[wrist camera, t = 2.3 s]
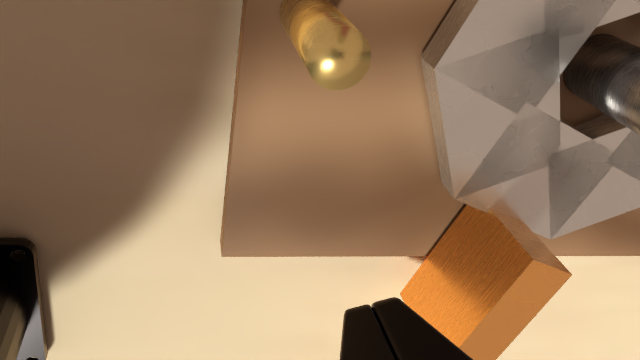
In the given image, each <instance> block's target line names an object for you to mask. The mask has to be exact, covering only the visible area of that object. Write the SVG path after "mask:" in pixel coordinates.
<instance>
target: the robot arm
mask: <svg viewBox="0 0 640 360" xmlns="http://www.w3.org/2000/svg"><path fill="white" fill-rule="evenodd" d="M14 250H21V251H23V252H24V253H25V254H17V253H16V252H14ZM47 354H48V352H47V343H46V334H45V325H44V316H43V307H42V298H41V290H40V281H39V272H38V263H37V254H36V248H35V245H34V244H33V243H32V242H31V241H29V240H27V239H24V238H0V360H46V358H47ZM31 357H36V358H31ZM340 360H473V359H472V358H471V357H469V356H468V355H467V354H466V353H465V352H463V351H462V350H461V349H460V348H458V347H457V346H456V345H455V344H454V343H452V342H451V341H450V340H449V339H448V338H446V337H445V336H444V335H443V334H441V333H440V332H439V331H438V330H437V329H435V328H434V327H433V326H432V325H430V324H429V323H428V322H427V321H426V320H424V319H423V318H422V317H421V316H420V315H418V314H417V313H416V312H415V311H413V310H412V309H411V308H410V307H409V306H407V305H406V304H405V303H404V302H402V301H401V300H400V299H398V298H395V297H394V298H389V299H385V300H382V301H378V302H375V303H373V304H372V307H371V306H370V305H363V306H359V307H355V308H351V309H348V310H346V311H345V313H344V321H343V331H342V341H341V352H340Z"/></svg>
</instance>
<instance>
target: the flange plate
mask: <svg viewBox="0 0 640 360" xmlns="http://www.w3.org/2000/svg"><path fill="white" fill-rule="evenodd" d="M636 13H638V14H639V15H640V0H456V2H455V3H454V5H453V6H452V8H451V10H450V11H449V13H448V14H447V16H446V17H445V19H444V21H443V22H442V24H441V25H440V27H439V29H438V30H437V32H436V33H435V35H434V36H433V38H432V40H431V41H430V43H429V44H428V46H427V48H426V49H425V51H424V52H423V54H422V56H421V62H422V68H423V74H424V80H425V86H426V92H427V98H428V104H429V110H430V116H431V122H432V128H433V134H434V140H435V146H436V152H437V158H438V164H439V170H440V176H441V182H442V184H443V185H444V187H445V188H446V189H447V190H448V192H449V193H450V194H451V196H452V197H453V198H454V199H455V200H457V201H460V202H462V203H465V204H467V205H466V206H465V208H464V209H463V210H462V212H461V213H460V214H459V216H458V217H457V218H456V220H455V221H454V222H453V224H452V225H451V226H450V228H449V229H448V230H447V232H446V233H445V234H444V236H443V237H442V238H441V240H440V241H439V242H438V244H437V245H436V246H435V248H434V249H433V250H432V252H431V253H430V254H429V256H428V257H427V258H426V260H425V261H424V262H423V264H422V265H421V266H420V268H419V269H418V270H417V272H416V273H415V274H414V276H413V277H412V278H411V280H410V281H409V282H408V284H407V285H406V286H405V288H404V289H403V290H402V292H401V293H400V294H401V297H402V299H403V301H404V303H405V304H406V305H407V306H409V307H410V308H411V309H412V310H413V311H415V312H416V313H417V314H418V315H420V316H421V317H422V318H423V319H424V320H426V321H427V322H428V323H429V324H430V325H432V326H433V327H434V328H435V329H437V330H438V331H439V332H440V333H441V334H443V335H444V336H445V337H446V338H448V339H449V340H450V341H451V342H452V343H454V344H455V345H456V346H457V347H458V348H460V349H461V350H462V351H463V352H465V353H466V354H467V355H468V356H469V357H471V358H472V359H473V360H496V359H497V358H498V357H499V356H500V355H501V353H502V352H503V351H504V350H505V349H506V348H507V347H508V346H509V345H510V343H511V342H512V341H513V340H514V339H515V338H516V337H517V336H518V335H519V333H520V332H521V331H522V330H523V329H524V328H525V327H526V326H527V324H528V323H529V322H530V321H531V320H532V319H533V318H534V317H535V316H536V314H537V313H538V312H539V311H540V310H541V309H542V308H543V307H544V306H545V304H546V303H547V302H548V301H549V300H550V299H551V298H552V297H553V296H554V294H555V293H556V292H557V291H558V290H559V289H560V288H561V287H562V285H563V284H564V283H565V282H566V281H567V280H568V279H569V278H570V277H571V275H572V274H571V273H570V272H569V271H568V270H567V269H566V268H565V266H564V265H563V264H562V263H561V262H560V261H559V260H558V259H557V258H556V257H555V256H554V254H553V253H552V252H551V251H550V250H549V249H548V248H547V247H546V246H545V245H544V244H543V242H542V241H541V240H540V239H539V238H538V237H537V236H536V235H535V234H534V233H536V234H538V235H541V236H543V237H545V238H548V239H550V240H551V239H554V238H557V237H559V236H562V235H565V234H568V233H571V232H573V231H576V230H579V229H582V228H584V227H587V226H590V225H593V224H595V223H598V222H601V221H604V220H606V219H609V218H612V217H615V216H618V215H620V214H623V213H626V212H629V211H631V210H634V209H637V208H640V135H638V134H637V133H635V132H634V131H632V130H630V129H629V128H627V127H626V126H624V125H622V124H621V123H619V122H618V121H616V120H614V119H613V118H611V117H609V116H608V115H606V114H605V115H602V116H599V117H596V118H594V119H591V120H588V121H585V122H582V123H579V124H577V125H574V126H573V125H571V124H569V123H567V122H566V121H564V120H562V119H560V74H561V73H562V72H563V70H564V69H565V68H566V66H567V65H568V64H569V62H570V61H571V60H572V58H573V57H574V56H575V54H576V53H577V52H578V50H579V49H580V48H581V46H582V45H583V44H584V42H585V41H586V40H587V38H588V37H589V36H590V34H591V33H592V32H593V30H594V29H595V28H596V27H599V26H601V25H604V24H607V23H610V22H613V21H616V20H619V19H622V18H625V17H627V16H630V15H633V14H636ZM533 232H534V233H533Z"/></svg>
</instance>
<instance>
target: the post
mask: <svg viewBox="0 0 640 360" xmlns="http://www.w3.org/2000/svg"><path fill="white" fill-rule="evenodd" d="M563 81H564V84H565V86H566V88H567V89H568V91H570V92H571V93H573V94H574V95H576V96H577V97H579V98H581V99H582V100H584V101H585V102H587V103H589V104H590V105H592V106H593V107H595V108H597V109H598V110H600V111H601V112H603V113H605V114H606V115H608V116H609V117H611V118H613V119H614V120H616V121H618V122H619V123H621V124H622V125H624V126H626V127H627V128H629V129H630V130H632V131H634V132H635V133H637V134H638V135H640V47H638V46H636V45H633V44H631V43H629V42H626V41H624V40H622V39H619V38H617V37H615V36H612V35H610V34H604V33H602V34H596V35H593V36H590V37H588V38H587V40H586V41H585V42H584V44H583V45H582V46H581V48H580V49H579V50H578V52H577V53H576V54H575V56H574V57H573V58H572V60H571V61H570V62H569V64H568V65H567V66H566V68H565V69H564V70H563Z"/></svg>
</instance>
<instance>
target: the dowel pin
mask: <svg viewBox="0 0 640 360" xmlns="http://www.w3.org/2000/svg"><path fill="white" fill-rule="evenodd" d="M279 17H280V21H281V24H282V26H283V28H284V29H285V31H286V33H287V35H288V36H289V38H290V40H291V42H292V43H293V45H294V47H295V49H296V51H297V52H298V54H299V56H300V58H301V59H302V61H303V63H304V65H305V66H306V68H307V70H308V72H309V73H310V75H311V77H312V78H313V80H314V81H315V82H316V83H317V84H318V85H320V86H321V87H323V88H325V89H329V90H344V89H347V88H350V87H352V86H354V85H355V84H357V83H358V82H359V81H360V80H361V79H362V78H363V77H364V76H365V74H366V73H367V71H368V69H369V66H370V63H371V49H370V45H369V43H368V41H367V39H366V38H365V36H364V35H363V34H362V33H361V32H360V31H359V30H358V29H357V28H356V27H355V26H354V25H353V24H352V23H351V22H350V21H349V20H348V19H347V18H346V17H345V16H344V15H343V14H342V13H341V12H340V11H339V10H338V9H337V8H336V7H335V6H334V5H333V4H332V3H331V2H330V1H329V0H282V2H281V5H280V10H279Z"/></svg>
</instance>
